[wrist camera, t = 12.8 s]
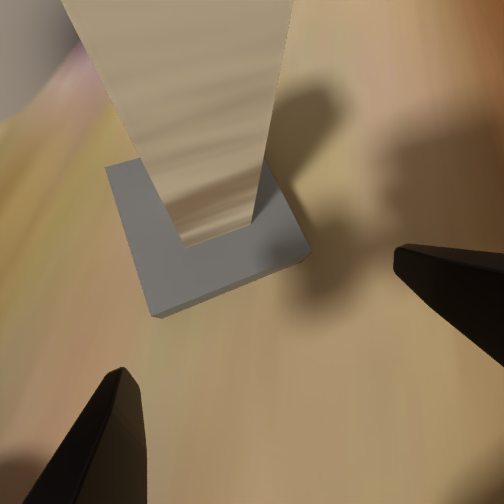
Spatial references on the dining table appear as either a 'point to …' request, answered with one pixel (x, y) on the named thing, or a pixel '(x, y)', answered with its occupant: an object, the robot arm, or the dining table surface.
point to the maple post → (192, 96)
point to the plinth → (206, 253)
